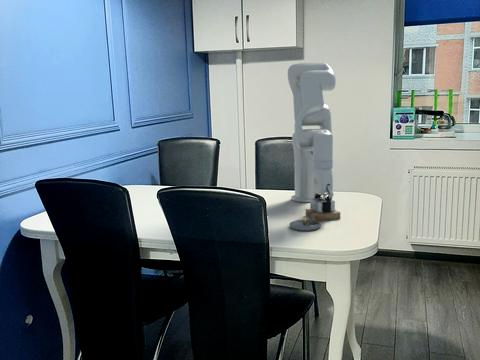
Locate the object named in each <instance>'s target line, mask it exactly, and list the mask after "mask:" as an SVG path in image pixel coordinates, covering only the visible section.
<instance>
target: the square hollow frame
mask: <svg viewBox="0 0 480 360" xmlns="http://www.w3.org/2000/svg"><path fill="white" fill-rule="evenodd" d="M321 197H322V198H312V199H310V202H309V203H310V208H309V209H312V210H314V211H315V212H317V213H323V202H324V200H323V196H321ZM325 197H326V198H327V196H325ZM335 205H336V201H335V200H334V199H332V202H331V211H335V210H336V206H335Z"/></svg>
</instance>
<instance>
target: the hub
mask: <svg viewBox="0 0 480 360" xmlns="http://www.w3.org/2000/svg"><path fill="white" fill-rule="evenodd" d="M307 217H308V216H306V215H303V216H302V219H298V220H293V221H291V222H289V229H290V230H293V231H296V232H314V231H318V230H319V229H320V228H321V223H320V221H315V220H313V219H307Z"/></svg>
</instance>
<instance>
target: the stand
mask: <svg viewBox="0 0 480 360" xmlns="http://www.w3.org/2000/svg"><path fill="white" fill-rule="evenodd" d="M305 216H307V217H308V218H309V219H310V220H313V221H317V222H325V221H333V220H341V211H338V210H336V209H335V211H331V212H323V213H317V212H315V211H314V210H312V209H310V208H305Z"/></svg>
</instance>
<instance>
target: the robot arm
mask: <svg viewBox="0 0 480 360" xmlns="http://www.w3.org/2000/svg"><path fill="white" fill-rule="evenodd" d="M335 75H336V74H335V73H334V70H333V69H332V68H331V66H330V65H328V63H326V62H299V63H293V64H291V65H290V66H289V67H288V69H287V81H288V84H289V87H290V90H291V93H292V97H293V99H292V100H293V114H294V115H293V117H294V132H293V133H292V137H291V141H292V142H291V143H292V148H293V156H294V157H293V158H294V194H293V195H291V198H290V199H291V200H292V201H293V202H297V203H310V199H312V198H322V197H323V200H324V202H323V212H331V202H332V200H333V198H334V197H333V196H334V191H333V190H334V188H333V187H334V186H333V185H334V180H333V170H332V169H333V167H334V166H333V165H334V164H333V160H334V159H333V156H334V155H333V153H334V152H333V148H334V146H333V144H334V142H333V141H334V140H333V139H334V137H333V136H334V135H333V131H332V129H333V128H332V112H331V109H330V107H329V106H328V105H327V104H325V101H324V95H323V94H324V93H323V92H327V91H328V92H329V91H330V92H331V91H333V90H334V89H335V88H336V84H337V82H336V81H337V80H336V76H335ZM303 127H318V128H306V129H305V128H304V129H303ZM311 152H312V153H311ZM326 197H327V198H326Z"/></svg>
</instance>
